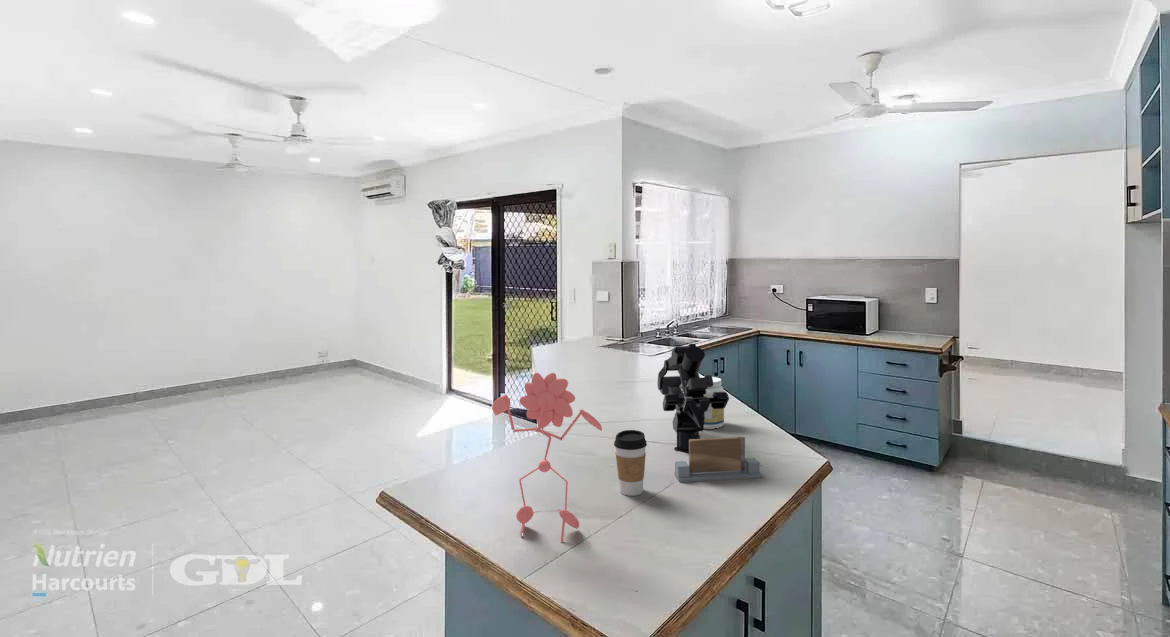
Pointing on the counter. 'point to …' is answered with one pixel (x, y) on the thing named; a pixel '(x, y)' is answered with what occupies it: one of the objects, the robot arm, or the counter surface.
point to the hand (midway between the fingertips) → (701, 426)
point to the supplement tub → (713, 416)
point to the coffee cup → (630, 461)
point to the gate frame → (685, 476)
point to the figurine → (545, 405)
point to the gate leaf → (716, 454)
